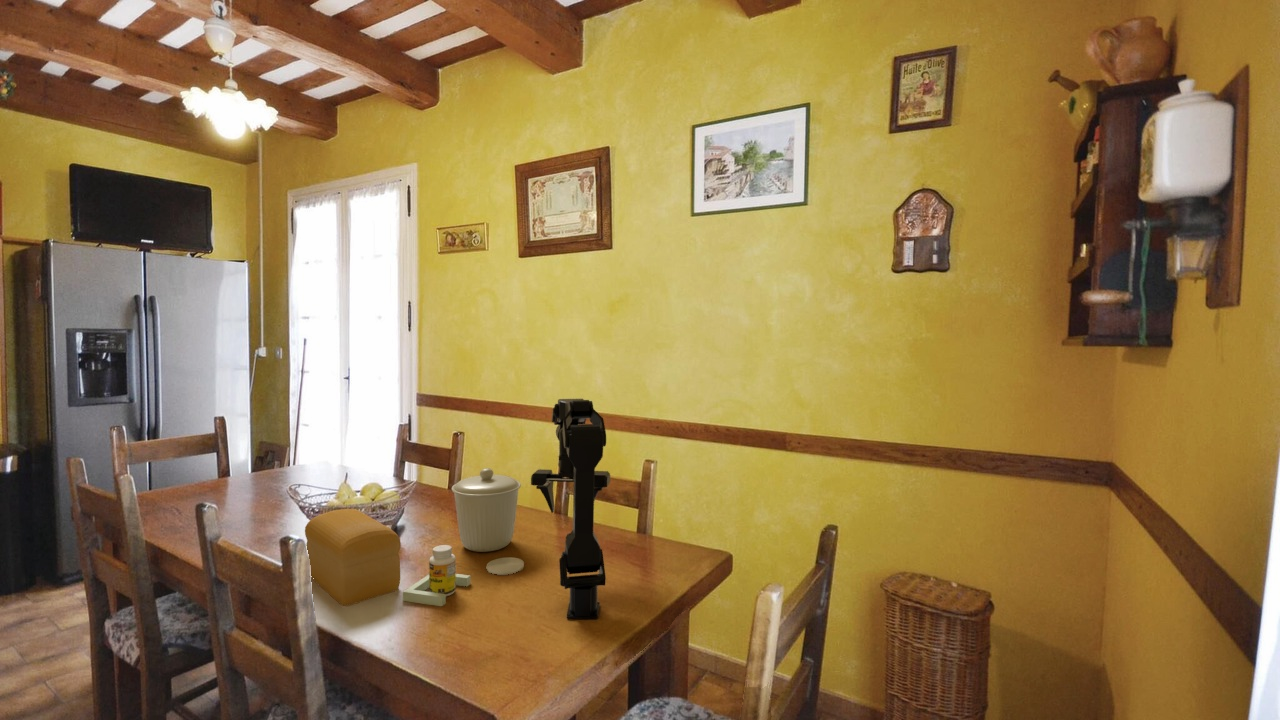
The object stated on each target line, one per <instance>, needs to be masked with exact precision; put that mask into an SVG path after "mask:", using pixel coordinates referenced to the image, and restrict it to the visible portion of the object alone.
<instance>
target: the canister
mask: <svg viewBox="0 0 1280 720" xmlns="http://www.w3.org/2000/svg"><path fill="white" fill-rule="evenodd" d="M521 485H522V483H521V482H520V481H519V480H516V479H515V478H513V477H512V476H507V475H504V474H494V470H493V469H491V468H487V467H486V468H482V469H481V470H480V471H479V475H473V476H470V477H469V476H468V477H465V478H462V479H461V480H458V482H457V483H454V484H453V485H452V487H451V491H452V492H453V493H454V501H455V502H454V503H455V508H456V509H455V510H456V518H457V519H456V520H457V526H458V532H459V538H460V542H461V543H462V545H463V547H464V549H467V550H468V551H472V552H478V553H487V552H495V551H499V550H501V549H504V548H505V547H507V546H509V545H510V543H511V541H512V540H513V536H514V531H515V526H516V525H515V523H516V516H517V507H518V499H519V498H518V496H519V489H520V488H521V487H522V486H521Z"/></svg>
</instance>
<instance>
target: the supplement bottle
mask: <svg viewBox="0 0 1280 720" xmlns="http://www.w3.org/2000/svg"><path fill="white" fill-rule="evenodd" d="M452 549H453V547H452V545H448V544H441V545H436V546H435V547H433V548H432V556H430V558H429V561H428V567H429V568H428V571H429V573H428V575H429V588H428V589H429V592H433V593H441V594H446V597H448V596H451V595H453V594H454V593H455V591H456V589H457V588H456V587H457V585H456V574H457V573H456V572H457V571H456V568H457V567H456V564H457V563H456V559H457V558H456V556H455V554H453V551H452Z"/></svg>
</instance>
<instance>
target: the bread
mask: <svg viewBox="0 0 1280 720" xmlns="http://www.w3.org/2000/svg"><path fill="white" fill-rule="evenodd" d="M304 535H305V538H306V544H305V545H306V546H307V550H308V554H309V559H310V565H311V576H312V578H311V579H312V580H313V578H314V580H313V582H315V583H316V582H317V583H316V584H317V585H318V584H319V585H318V586H320V587H321V589H323V590H324V591H325V592H326V593H327V594H328V595H329V596H331V597H332V598H333V599H334V600H335V601H336V602H337V603H338V604H340V605H342V606H345V607H347V606H351V605H354V604H357V603H362V602H364V601H368V600H370V599H373V598H377V597H380V596H383V595H387V594H390V593H393V592H395V591H399V588H400V583H401V561H400V555H399V554H400V550H401V539H400V536H399V535H398V534H397V533H396V532H395V531H394V530H392V529H391V528H390V527H388V526H386V525H385V524H383V523H381V522H379V521H377V520H376V519H374V518H372V517H371V516H370V515H367V514H366V513H364V512H362V511H360V510H358V509H356V508H343V509H334V510H331V511H327V512H324V513H321V514H319V515H316V516H315V517H312V519H310V520H309V521H308V522H307V523H306V525H305V527H304ZM306 546H305V547H306Z"/></svg>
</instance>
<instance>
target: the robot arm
mask: <svg viewBox="0 0 1280 720" xmlns="http://www.w3.org/2000/svg"><path fill="white" fill-rule="evenodd" d="M593 404H594V403H593V400H589V399H584V398H559V399H557V403H555V404H554V407H553V408H552V413H551V414H552V415H551V423H553V425H554V426H557V427H556V429H555V435H556V438H557V440H558V442H559V445H558V447H559V448H558V451H559V452H558V453H559V454H558V462H557V465H558V467H559V468H558V469H559V471H558V473H553V470H552V469H542V468H538V469H537V470H536V471H535V472H533V473H532V474H531V476H530V485H531V486H535V487H536V490H540V492H541V493H542V495H543V497H544V499H545V500H546V503H547V505H548V508H549V511H550V512H551V514H552V513H554V512H555V499H554V498H555V497H554V483H555V482H558V483H560V482H564V483H573V494H572V495H573V498H572V499H573V500H572V503H573V504H572V506H573V507H572V508H573V509H572V531H571V532H569V533H567V535H566V536H565V542H564V551H562V553H561V556H560V558H559V559H558V561H559V580H560V581H559V582H560V583H559V585H560V586H561V587H564V589H565V590H568V589H569V603H568V606H567V613H566V619H569V620H571V619H573V620H574V619H575V620H577V619H582V620H583V619H587V620H588V619H589V620H590V619H592V620H594V619H595V620H597V619H599V615H600V607H601V602H600V601H599V602H598V586H601V587H602V586H606V580H607V579H606V571H605V570H606V569H605V568H606V567H605V561H604V553H603V549H602V548H601V545H600V543H599V539H598V537H597V536H596V533H595V532H594V516H595V515H594V512H595V511H594V509H595V501H596V498H597V495H598V493H599V492H600V491H602V490H603V489H604V488H608V486H609V485H610V483H611V473H610V471H608V470H596V467H597V466H598V465H599V463H600V462H601V460H602V459H603V457H604V447H606V446H607V433H606V425H605V421H604V418H603V417H602V416H601V414H599V412H598V411H596V410H595V408H594V405H593ZM587 419H589V422H590V424H587V423H586V421H587ZM597 572H598V573H597ZM586 573H588V574H586ZM589 573H590V574H589ZM591 573H597V574H591ZM577 574H582V575H577ZM583 574H585V575H583ZM568 575H571V576H568Z"/></svg>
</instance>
